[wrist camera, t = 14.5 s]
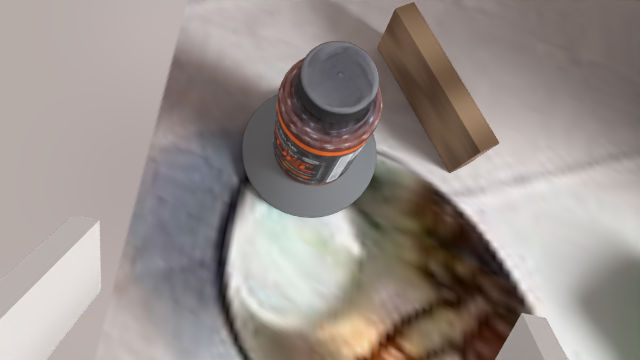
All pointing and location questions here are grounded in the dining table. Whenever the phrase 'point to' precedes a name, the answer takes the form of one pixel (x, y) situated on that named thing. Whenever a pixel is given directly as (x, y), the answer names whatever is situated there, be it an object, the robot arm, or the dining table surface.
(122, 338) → the dining table surface
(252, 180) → the coaster
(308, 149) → the supplement bottle
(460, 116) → the rail
